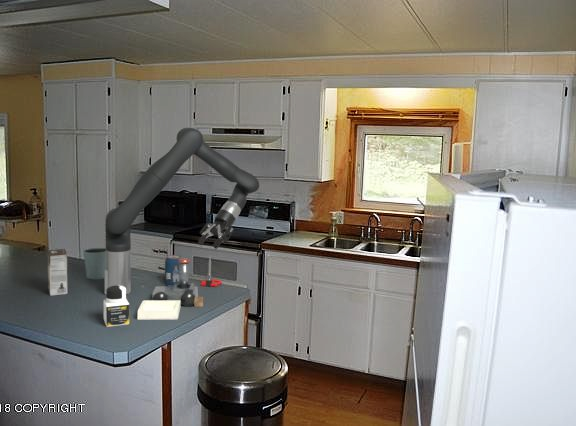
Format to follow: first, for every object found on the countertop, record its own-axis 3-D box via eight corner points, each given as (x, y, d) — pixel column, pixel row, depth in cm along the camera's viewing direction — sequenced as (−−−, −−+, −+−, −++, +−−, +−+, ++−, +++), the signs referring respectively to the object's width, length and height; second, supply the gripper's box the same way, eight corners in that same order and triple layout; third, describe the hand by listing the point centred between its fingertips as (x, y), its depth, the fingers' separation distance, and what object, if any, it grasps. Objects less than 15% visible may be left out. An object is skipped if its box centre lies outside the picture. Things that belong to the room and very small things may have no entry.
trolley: (151, 306, 178) (151, 291, 177) (155, 296, 190) (155, 282, 189) (195, 306, 180) (196, 291, 179) (197, 296, 192) (197, 282, 192)
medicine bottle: (106, 327, 157) (106, 291, 155) (103, 320, 163) (103, 285, 161) (129, 324, 160) (129, 288, 158) (125, 317, 166) (125, 283, 165)
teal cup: (113, 276, 215) (113, 249, 214) (93, 281, 207) (93, 253, 205) (98, 272, 221) (98, 246, 219) (78, 277, 212) (78, 250, 211)
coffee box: (47, 289, 193) (46, 249, 191) (65, 287, 196) (64, 248, 194) (49, 296, 185) (48, 254, 183) (68, 294, 189) (67, 253, 187)
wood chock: (194, 306, 180) (194, 298, 180) (194, 304, 182) (194, 296, 182) (202, 306, 180) (202, 298, 180) (203, 304, 183) (203, 296, 182)
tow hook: (205, 281, 216) (198, 285, 207) (206, 252, 215) (199, 255, 206) (223, 283, 215) (217, 287, 206) (225, 253, 214) (219, 257, 204)
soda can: (171, 281, 212) (172, 254, 210) (184, 283, 209) (185, 256, 208) (161, 284, 206) (161, 257, 204) (174, 287, 203) (175, 259, 201)
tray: (137, 319, 165) (137, 310, 164) (143, 308, 176) (143, 300, 175) (177, 319, 166) (177, 310, 166) (180, 308, 178) (180, 300, 177)
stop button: (177, 291, 184) (178, 260, 182) (178, 288, 188) (179, 258, 186) (189, 291, 184) (189, 260, 183) (189, 288, 189) (190, 258, 187)
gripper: (211, 206, 203) (189, 237, 195) (236, 210, 194) (214, 242, 186) (220, 218, 207) (199, 248, 200) (245, 222, 199) (224, 254, 191)
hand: (206, 245), depth 193 cm, fingers open, 8 cm apart
